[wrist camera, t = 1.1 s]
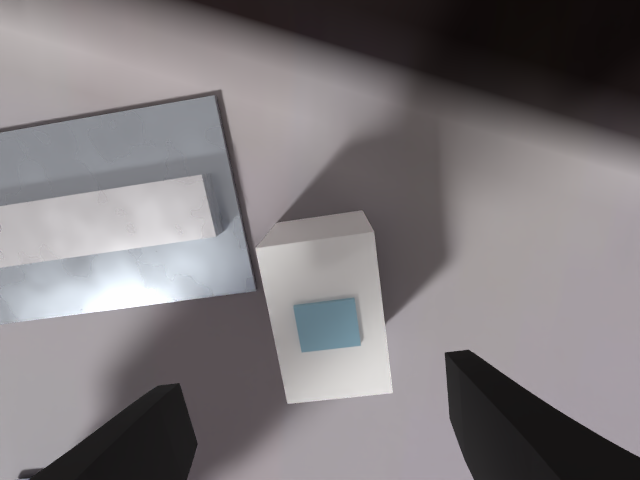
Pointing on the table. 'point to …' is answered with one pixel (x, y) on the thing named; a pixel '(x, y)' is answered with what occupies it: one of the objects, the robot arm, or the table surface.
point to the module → (326, 307)
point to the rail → (119, 213)
